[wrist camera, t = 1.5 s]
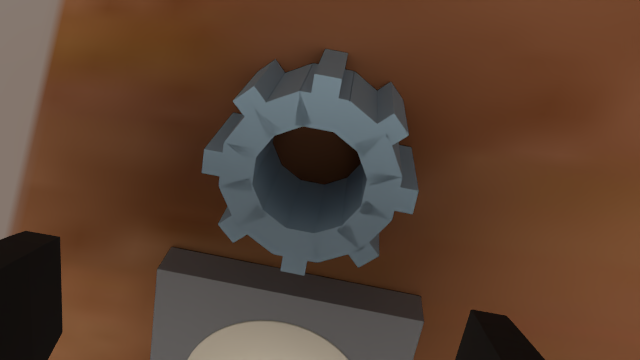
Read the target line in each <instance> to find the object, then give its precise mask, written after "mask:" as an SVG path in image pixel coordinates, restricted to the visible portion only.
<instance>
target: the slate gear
mask: <svg viewBox="0 0 640 360" xmlns="http://www.w3.org/2000/svg"><path fill="white" fill-rule="evenodd" d="M347 56H348V53H345V52H340V51H335V50H329V49H325V51H324V53H323V55H322V58H321V60H320V62H319V64H315V63H312V64H309V65H306V66H303V67H301V68H298V69H295V70H292V71H289V72H286V73H285V72H284V70H283V69H282V68H281V66H280V65H279V63H278V62H277V61H276V59H275V60H274V61H272V62H271V63H269V64H268V65H267V66H265V67H264V68H262V69H261V70H259V71H258V72H257V73H256V74H255V75H254V77H253V78H252V79H251V80H250V81H249V82H248V84H247V85H246V86H245V87H244V88H243V89H242V91H241V92H240V93H239V94H238V95H237V96H236V98H235V99H234V100H233V102H234V104H235V105H236V106H237V107H238V109H239V110H240V111H241V113H242V114H238V113H232V115H231V116H230V117H229V118H228V120H227V121H226V122H225V123H224V125H223V126H222V127H221V128H220V130H219V131H218V132H217V133H216V135H215V136H214V137H213V138H212V140H211V141H210V142H209V144H208V145H207V146H206V147H205V149H204V155H203V165H202V173H205V174H210V175H215V176H220V179H219V188H220V190H221V193H222V195H223V197H224V199H225V201H226V204H227V208H226V210H225V212H224V214H223V216H222V217H221V219H220V221H219V223H218V225H219V226H220V228H221V229H222V230H223V231H224V233H225V234H226V235H227V236H228V237H229V239H230V240H231V241H232V242H233V243H234V242H236V241H237V240H239V239H240V238H242V237H244V236H245V235H249V236H250V237H251V238H252V239H254V240H255V241H256V242H258V243H259V244H260V245H262V246H263V247H264V248H266V249H267V250H268V251H269V252H271V253H272V254H275V255H280V256H283V258H282V264H281V270H280V271H283V272H288V273H293V274H298V275H303V276H304V275H305V270H306V265H307V261H311V262H316V263H317V262H318V263H319V262H322V261H326V260H329V259H333V258H337V257H340V256H344V255H349V256H350V257H351V259H352V260H353V261H354V263H355V264H356V265H357V267H358V268H359V267H361V266H362V265H364V264H366V263H368V262H370V261H371V260H373V259H375V258H377V257H379V232H380V231H381V230H382V229H383V228H385V227H386V226H387V225H388V224H389V223H390V222H391V221H392V218H393V214H394V211H398V212H403V213H408V214H413V211H414V207H415V203H416V199H417V196H418V192H419V190H418V184H417V178H416V172H415V166H414V160H413V154H412V148H411V147H407V146H402V145H399V141H401V140H402V139H404V138H405V137H407V136H409V132H408V126H407V120H406V114H405V108H404V102H403V99H402V97H401V96H400V94H399V93H398V91H397V90H396V88H395V87H394V85H393V84H392V82H389V83H388V84H386V85H385V86H383V87H382V88H380V89H379V90H376V89H375V88H373V87H372V86H371V85H370V84H369V83H368V82H366V81H365V80H364V79H363V78H362V77H361V76H359V75H358V74H357V73H356V72H354V71H351V70H346V69H345V67H346V61H347ZM303 126H304V127H310V128H315V129H320V130H325V131H330V132H334V133H335V134H337V135H338V136H339V137H340V138H341V139H343V140H344V141H345V142H346V143H347V144H349V145H350V146H351V147H352V148H353V149H355V150H356V151H357V152H358V155H359V158H360V160H361V164H360V165H359V166H358V167H357V168H356V169H355V170H354V171H353V172H352V173H351V174H350V175H349V176H348V177H347V178H345V179H341V180H338V181H335V182H331V183H328V184H325V185H324V184H319V183H313V182H308V181H303V180H300V179H299V178H297V177H296V176H295V175H294V174H292V173H291V172H290V171H289V170H287V169H286V168H285V167H284V166H282V164H281V162H280V160H279V157H278V155H277V152H276V150H275V147H274V145H273V138H274V136H275V135H278V134H281V133H284V132H287V131H290V130H293V129H297V128H300V127H303Z"/></svg>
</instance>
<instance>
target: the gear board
mask: <svg viewBox="0 0 640 360" xmlns="http://www.w3.org/2000/svg"><path fill="white" fill-rule="evenodd" d="M280 270H281V269H280V268H275V267H270V266H265V265H260V264H255V263H250V262H245V261H240V260H235V259H230V258H224V257H219V256H214V255H209V254H204V253H199V252H194V251H189V250H184V249H179V248H174V247H171V249H170V250H169V252H168V253H167V255H166V256H165V258H164V259H163V261H162V262H161V264H160V265H159V267H158V269H157V279H156V292H155V304H154V317H153V330H152V343H151V356H150V360H413V357H414V354H415V351H416V347H417V344H418V340H419V337H420V334H421V330H422V327H423V324H424V318H423V309H422V301H421V296H417V295H412V294H406V293H401V292H396V291H391V290H386V289H381V288H376V287H371V286H366V285H361V284H356V283H351V282H346V281H341V280H336V279H331V278H326V277H321V276H315V275H310V274H305V275H304V276H303V275H298V274H293V273H288V272H283V271H280Z"/></svg>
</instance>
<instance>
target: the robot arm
mask: <svg viewBox="0 0 640 360" xmlns="http://www.w3.org/2000/svg"><path fill="white" fill-rule="evenodd" d="M61 334H62V295H61V256H60V237H57V236H51V235H46V234H40V233H34V232H29V231H24V232H21V233H18V234H15V235H12V236H9V237H6V238H4V239H1V240H0V360H48V358H49V356H50V354H51V353H52V351H53V349H54V347H55V345H56V343H57V341H58V339H59V338H60V336H61ZM455 360H545V359H544V358H543V357H542V356H541V355H540V353H539V352H538V351H537V350H536V349H535V348H534V346H533V345H532V344H531V343H530V342H529V341H528V339H527V338H526V337H525V336H524V335H523V334H522V332H521V331H520V330H519V329H518V328H517V327H516V326H515V325H514V323H513V322H512V321H511V320H510V319H509V318H508V317H507V316H505V315H499V314H493V313H488V312H482V311H476V310H471V311H470V315H469V318H468V321H467V324H466V327H465V330H464V334H463V337H462V340H461V343H460V346H459V350H458V353H457V356H456V359H455Z"/></svg>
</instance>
